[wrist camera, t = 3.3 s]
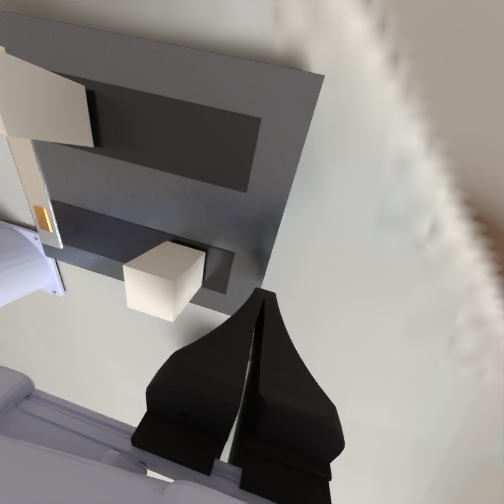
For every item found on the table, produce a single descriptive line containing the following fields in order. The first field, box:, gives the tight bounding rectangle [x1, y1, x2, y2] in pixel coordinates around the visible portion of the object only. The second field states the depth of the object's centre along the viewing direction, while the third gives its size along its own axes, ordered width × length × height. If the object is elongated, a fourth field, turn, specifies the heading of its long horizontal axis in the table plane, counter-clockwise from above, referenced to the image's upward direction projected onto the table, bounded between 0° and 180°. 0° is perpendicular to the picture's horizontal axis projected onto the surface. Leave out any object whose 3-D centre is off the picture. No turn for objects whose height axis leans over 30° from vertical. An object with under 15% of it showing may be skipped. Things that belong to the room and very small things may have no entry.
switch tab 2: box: [123, 241, 205, 322], centre depth 12 cm, size 3×3×4 cm
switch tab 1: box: [0, 51, 94, 147], centre depth 9 cm, size 3×3×4 cm
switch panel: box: [0, 11, 325, 316], centre depth 13 cm, size 20×16×2 cm
